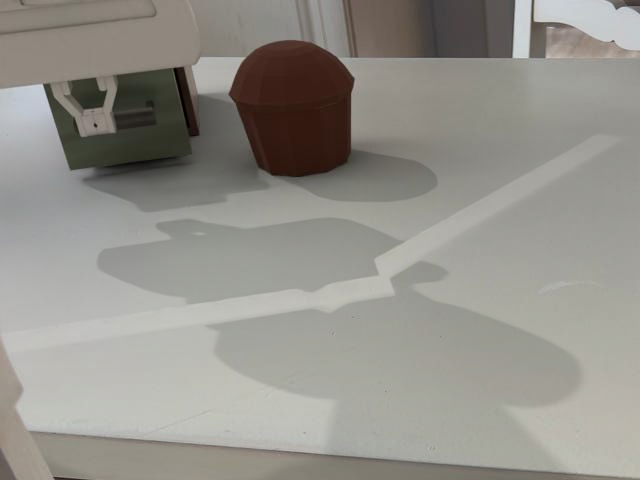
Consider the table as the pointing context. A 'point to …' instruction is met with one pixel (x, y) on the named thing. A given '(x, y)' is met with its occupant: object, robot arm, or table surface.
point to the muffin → (295, 107)
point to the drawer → (126, 121)
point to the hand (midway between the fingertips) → (99, 133)
